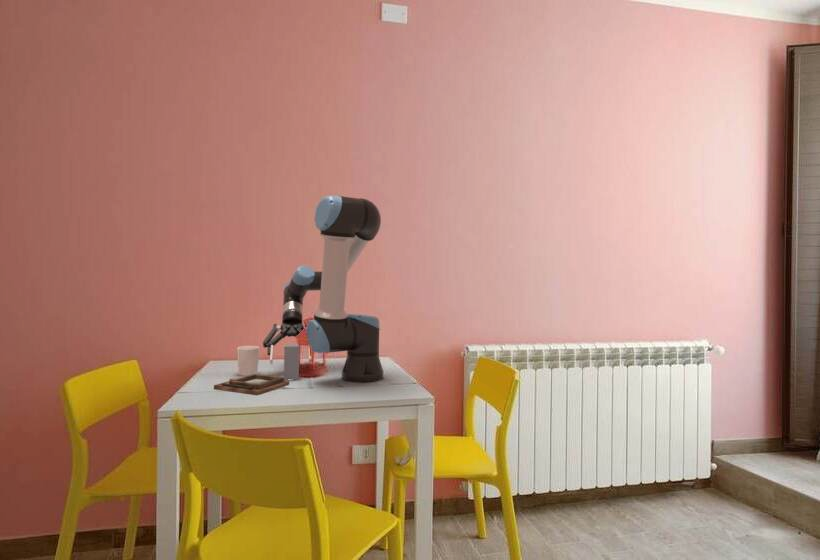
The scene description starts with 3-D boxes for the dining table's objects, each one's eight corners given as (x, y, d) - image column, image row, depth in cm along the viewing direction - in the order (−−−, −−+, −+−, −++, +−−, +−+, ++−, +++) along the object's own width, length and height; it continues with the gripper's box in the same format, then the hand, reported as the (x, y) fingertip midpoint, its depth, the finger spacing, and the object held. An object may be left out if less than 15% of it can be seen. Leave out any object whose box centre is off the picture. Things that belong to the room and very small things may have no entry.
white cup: (246, 371, 194) (246, 345, 194) (263, 373, 191) (263, 346, 191) (232, 375, 187) (232, 348, 186) (250, 377, 184) (250, 349, 184)
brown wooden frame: (289, 384, 173) (289, 376, 173) (257, 395, 158) (257, 386, 158) (247, 379, 180) (247, 371, 180) (213, 388, 166) (213, 380, 165)
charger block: (298, 377, 185) (299, 344, 185) (298, 380, 180) (298, 346, 180) (284, 377, 184) (285, 344, 184) (284, 380, 179) (284, 346, 179)
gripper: (324, 321, 201) (325, 366, 187) (259, 322, 197) (255, 368, 182) (325, 309, 196) (326, 354, 182) (258, 309, 191) (253, 356, 177)
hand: (290, 361), depth 182 cm, fingers open, 13 cm apart
